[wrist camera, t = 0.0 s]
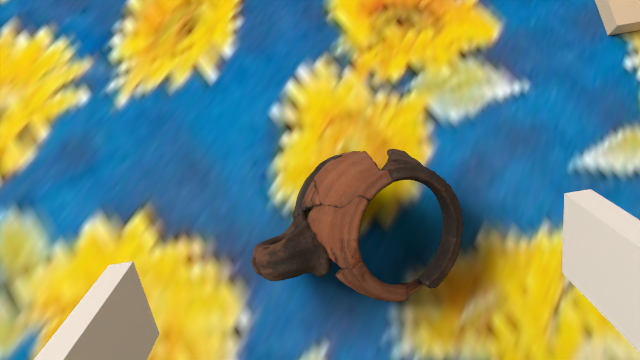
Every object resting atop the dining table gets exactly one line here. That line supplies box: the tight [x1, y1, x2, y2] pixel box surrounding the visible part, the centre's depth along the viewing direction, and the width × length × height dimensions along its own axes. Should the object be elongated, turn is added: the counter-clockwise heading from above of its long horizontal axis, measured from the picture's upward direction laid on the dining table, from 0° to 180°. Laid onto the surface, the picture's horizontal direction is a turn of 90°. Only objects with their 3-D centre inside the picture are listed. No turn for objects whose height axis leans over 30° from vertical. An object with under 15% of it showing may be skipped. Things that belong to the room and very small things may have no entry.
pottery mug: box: [251, 149, 463, 302], centre depth 27 cm, size 12×10×8 cm
